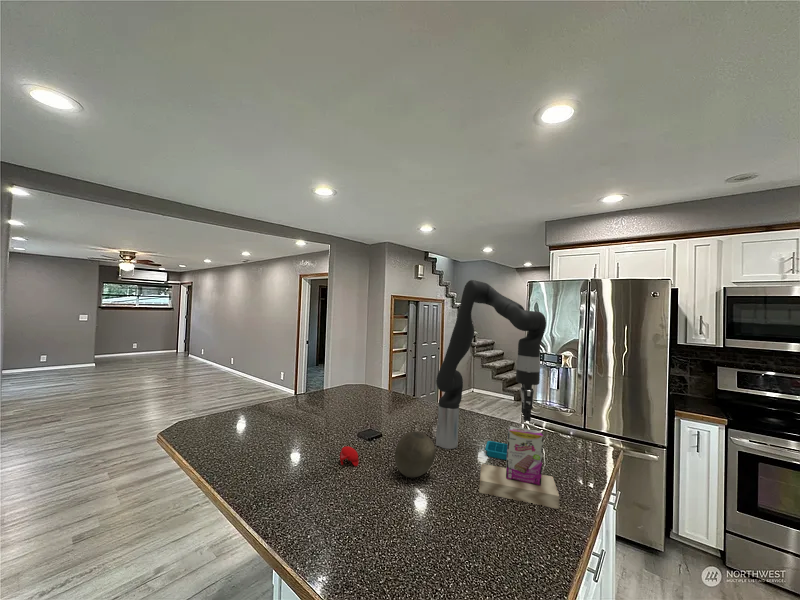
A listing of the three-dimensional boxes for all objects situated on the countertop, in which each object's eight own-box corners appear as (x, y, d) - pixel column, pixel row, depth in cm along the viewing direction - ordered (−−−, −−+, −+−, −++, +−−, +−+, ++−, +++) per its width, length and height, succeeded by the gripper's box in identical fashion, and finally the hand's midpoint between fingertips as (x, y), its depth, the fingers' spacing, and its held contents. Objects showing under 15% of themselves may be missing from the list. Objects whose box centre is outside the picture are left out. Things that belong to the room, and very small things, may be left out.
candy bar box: (505, 479, 109) (507, 429, 110) (505, 472, 114) (507, 425, 115) (542, 486, 106) (543, 435, 106) (540, 479, 110) (542, 430, 111)
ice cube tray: (536, 467, 129) (536, 460, 129) (484, 457, 136) (484, 449, 136) (535, 456, 140) (535, 449, 140) (487, 447, 147) (487, 440, 147)
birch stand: (479, 492, 107) (479, 480, 108) (481, 474, 120) (481, 463, 120) (558, 509, 100) (559, 495, 101) (552, 488, 113) (552, 476, 113)
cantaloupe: (405, 489, 107) (408, 442, 108) (387, 469, 120) (389, 428, 120) (441, 481, 113) (443, 437, 114) (420, 463, 126) (422, 424, 127)
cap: (333, 456, 121) (344, 451, 119) (342, 445, 127) (352, 440, 124) (346, 473, 122) (357, 468, 119) (353, 461, 127) (364, 457, 124)
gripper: (515, 365, 119) (513, 409, 118) (517, 371, 106) (515, 421, 105) (537, 367, 117) (535, 412, 116) (542, 373, 103) (540, 425, 103)
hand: (525, 417), depth 111 cm, fingers open, 8 cm apart
